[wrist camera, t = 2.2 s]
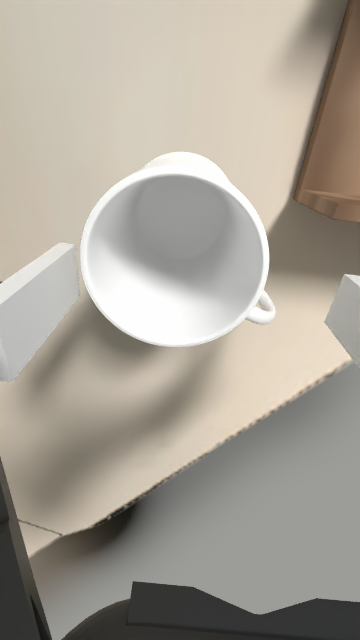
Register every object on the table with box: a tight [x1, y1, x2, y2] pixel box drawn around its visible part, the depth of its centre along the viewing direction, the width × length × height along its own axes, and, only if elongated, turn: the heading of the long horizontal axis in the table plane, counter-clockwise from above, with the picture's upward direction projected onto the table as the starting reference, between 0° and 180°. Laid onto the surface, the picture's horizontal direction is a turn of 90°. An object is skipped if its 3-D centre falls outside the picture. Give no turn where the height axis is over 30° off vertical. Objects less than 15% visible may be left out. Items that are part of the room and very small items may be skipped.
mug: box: [80, 152, 276, 347], centre depth 18 cm, size 12×8×12 cm
